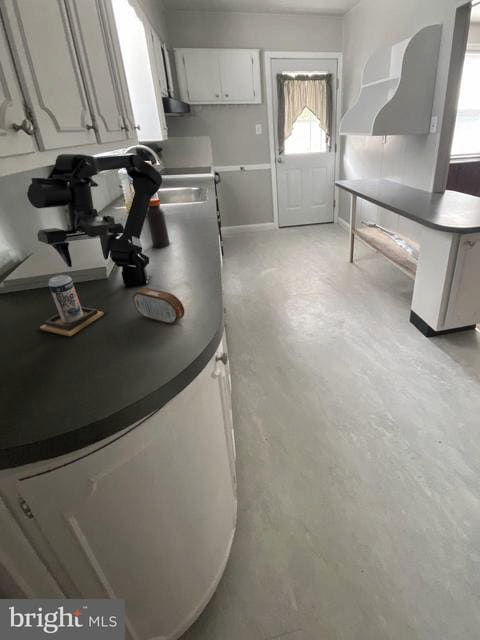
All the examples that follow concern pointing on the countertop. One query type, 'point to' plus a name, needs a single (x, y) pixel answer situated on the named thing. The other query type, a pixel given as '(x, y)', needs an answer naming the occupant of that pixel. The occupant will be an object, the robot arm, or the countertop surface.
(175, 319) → the tin
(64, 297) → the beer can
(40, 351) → the countertop surface
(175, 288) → the countertop surface
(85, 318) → the socket pad
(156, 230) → the bottle
